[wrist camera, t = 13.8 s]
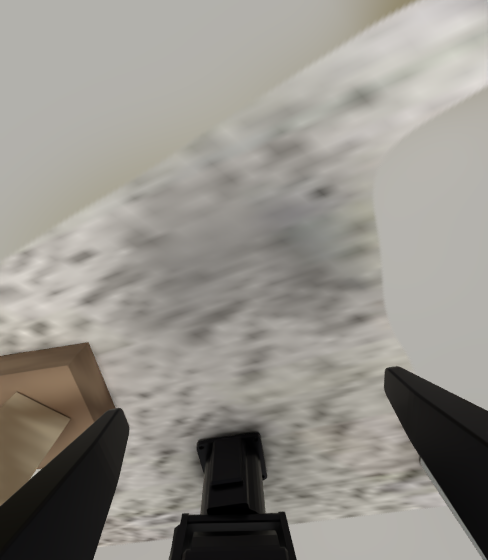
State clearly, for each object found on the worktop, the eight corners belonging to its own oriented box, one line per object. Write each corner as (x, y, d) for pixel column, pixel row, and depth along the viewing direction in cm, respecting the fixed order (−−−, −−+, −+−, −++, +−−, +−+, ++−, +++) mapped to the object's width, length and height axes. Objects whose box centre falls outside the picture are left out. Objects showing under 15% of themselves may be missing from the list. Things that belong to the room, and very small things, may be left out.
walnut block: (125, 424, 27) (110, 457, 23) (28, 438, 27) (-1, 474, 23) (90, 339, 23) (67, 365, 20) (-21, 356, 23) (-63, 385, 20)
